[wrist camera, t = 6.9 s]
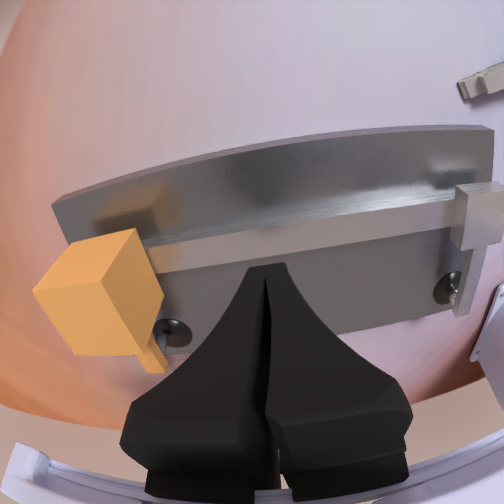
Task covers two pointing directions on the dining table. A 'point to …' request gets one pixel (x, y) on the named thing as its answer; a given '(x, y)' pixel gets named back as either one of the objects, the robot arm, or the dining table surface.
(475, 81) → the caliper
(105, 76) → the dining table surface
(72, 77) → the dining table surface
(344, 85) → the dining table surface
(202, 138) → the dining table surface
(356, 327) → the board
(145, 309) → the block
